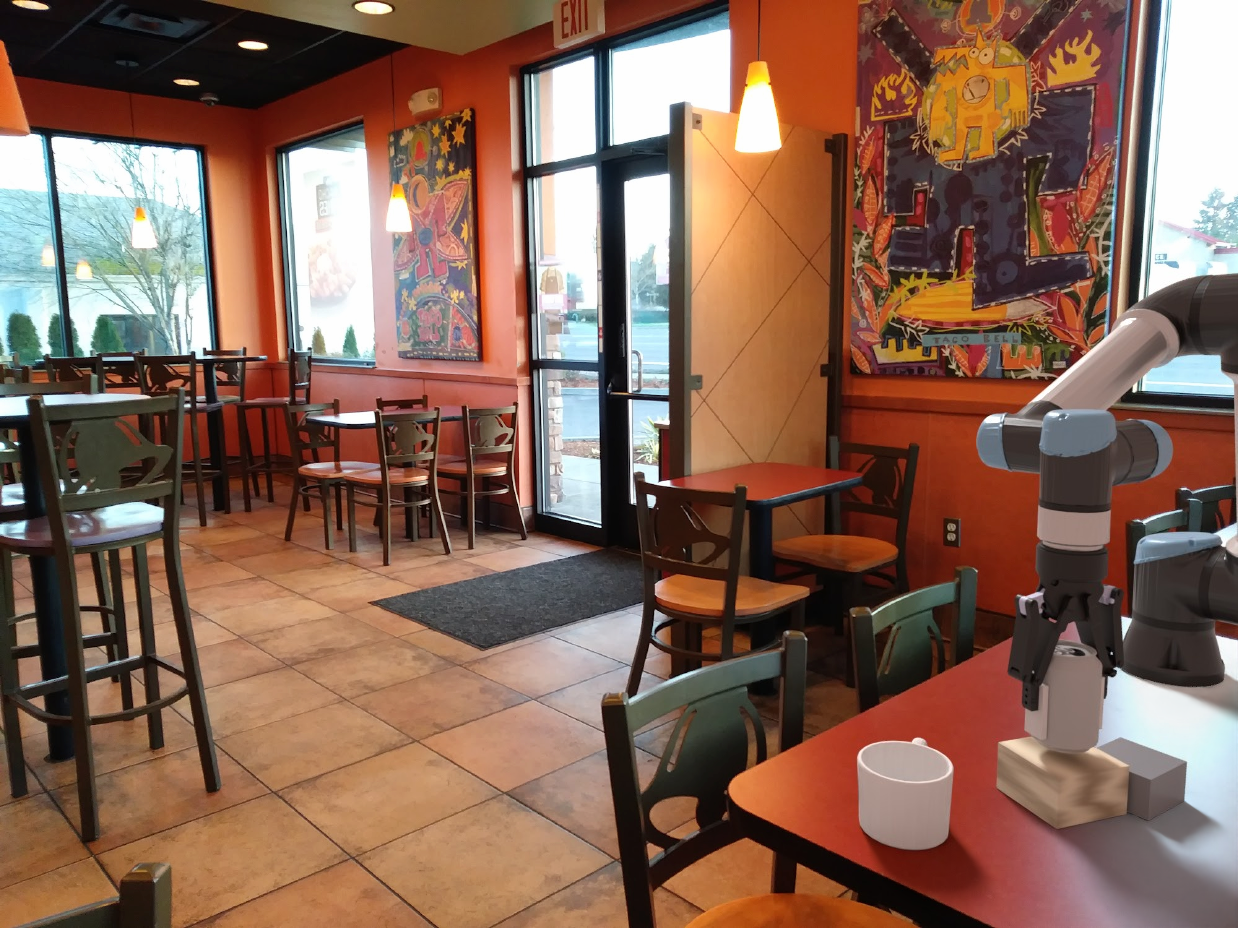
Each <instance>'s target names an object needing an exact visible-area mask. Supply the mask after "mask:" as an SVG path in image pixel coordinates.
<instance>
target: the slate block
mask: <svg viewBox="0 0 1238 928" xmlns="http://www.w3.org/2000/svg"><path fill="white" fill-rule="evenodd" d="M1096 748H1097V749H1099V750H1101V751H1103V752H1105V753H1106V754H1108V755H1110V756H1112V757H1114V758H1116V759H1118V760H1119V761H1121V762H1123V763H1125V764H1127V765H1129V781H1128V798H1127V813H1130V814H1132V815H1134V816H1137V817H1139V818H1141V819H1144V820H1146V821H1151V820H1152V819H1153V818H1155V817H1157V816H1159V815H1161V814H1163V813H1165V812H1167V811H1168V810H1170V809H1172V808H1174V807H1175V806H1178V805H1180V804H1182V803H1183V802H1184V801H1185V799H1186V798H1185V797H1186V783H1187V768H1188V761H1187V760H1184V759H1180V758H1178V757H1175V756H1173V755H1170V754H1168V753H1165V752H1162V751H1159V750H1156V749H1154V748H1152V747H1148V746H1145V745H1142V744H1140V743H1138V742H1134V741H1131V740H1130V739H1126V738H1123V737H1122V736H1121V737H1118V738H1115V739H1113V740H1110V741H1109V742H1107V743H1104V744H1102V745H1099V746H1098V747H1096Z"/></svg>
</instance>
